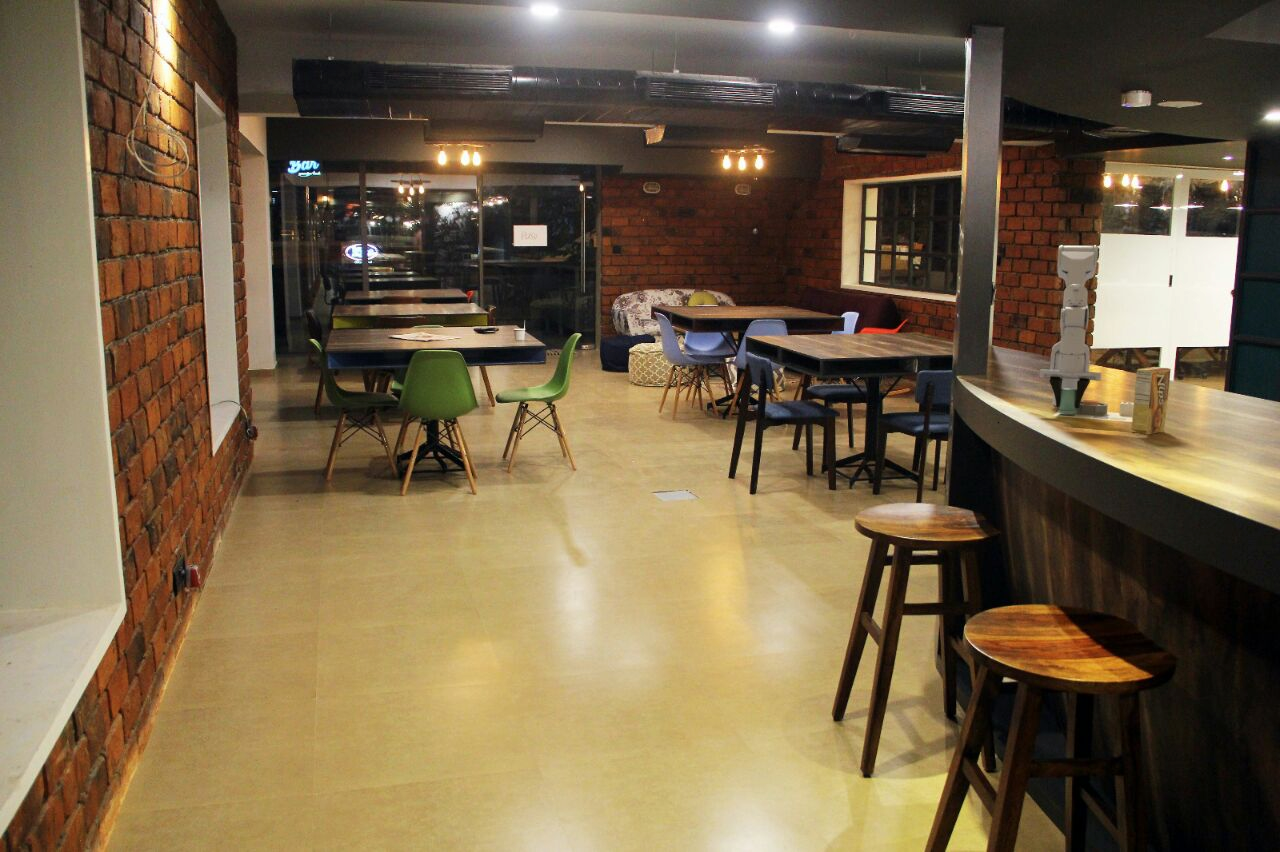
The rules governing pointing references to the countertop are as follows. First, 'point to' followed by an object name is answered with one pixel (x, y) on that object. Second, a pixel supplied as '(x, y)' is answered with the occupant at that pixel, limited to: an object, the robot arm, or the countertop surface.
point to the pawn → (1068, 401)
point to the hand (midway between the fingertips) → (1067, 407)
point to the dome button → (1090, 403)
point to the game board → (1121, 414)
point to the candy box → (1151, 399)
